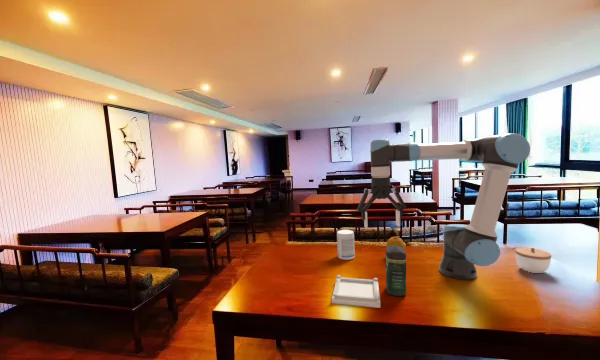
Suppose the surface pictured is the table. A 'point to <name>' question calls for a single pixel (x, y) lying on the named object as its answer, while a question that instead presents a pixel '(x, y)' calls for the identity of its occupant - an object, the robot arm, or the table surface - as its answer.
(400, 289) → the coffee jar
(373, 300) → the white square tray
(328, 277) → the table surface
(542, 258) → the lidded bowl
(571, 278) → the table surface
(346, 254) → the supplement tub
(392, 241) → the apple
